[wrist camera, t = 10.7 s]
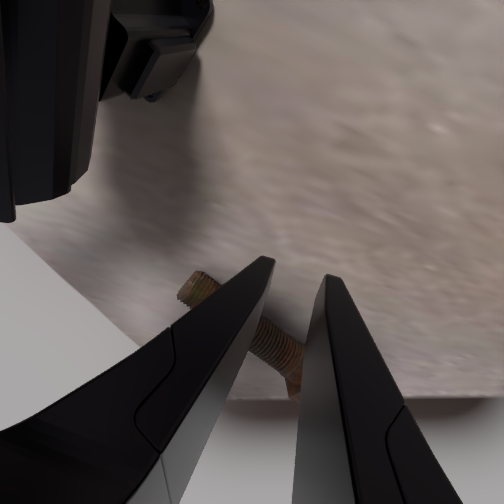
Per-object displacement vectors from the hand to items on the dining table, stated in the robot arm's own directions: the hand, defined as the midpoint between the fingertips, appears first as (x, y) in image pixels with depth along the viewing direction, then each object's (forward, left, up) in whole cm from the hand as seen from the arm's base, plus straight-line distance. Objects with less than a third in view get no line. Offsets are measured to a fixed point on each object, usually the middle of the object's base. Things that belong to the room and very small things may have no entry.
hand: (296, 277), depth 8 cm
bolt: (+8, -15, -12) cm, 21 cm away
